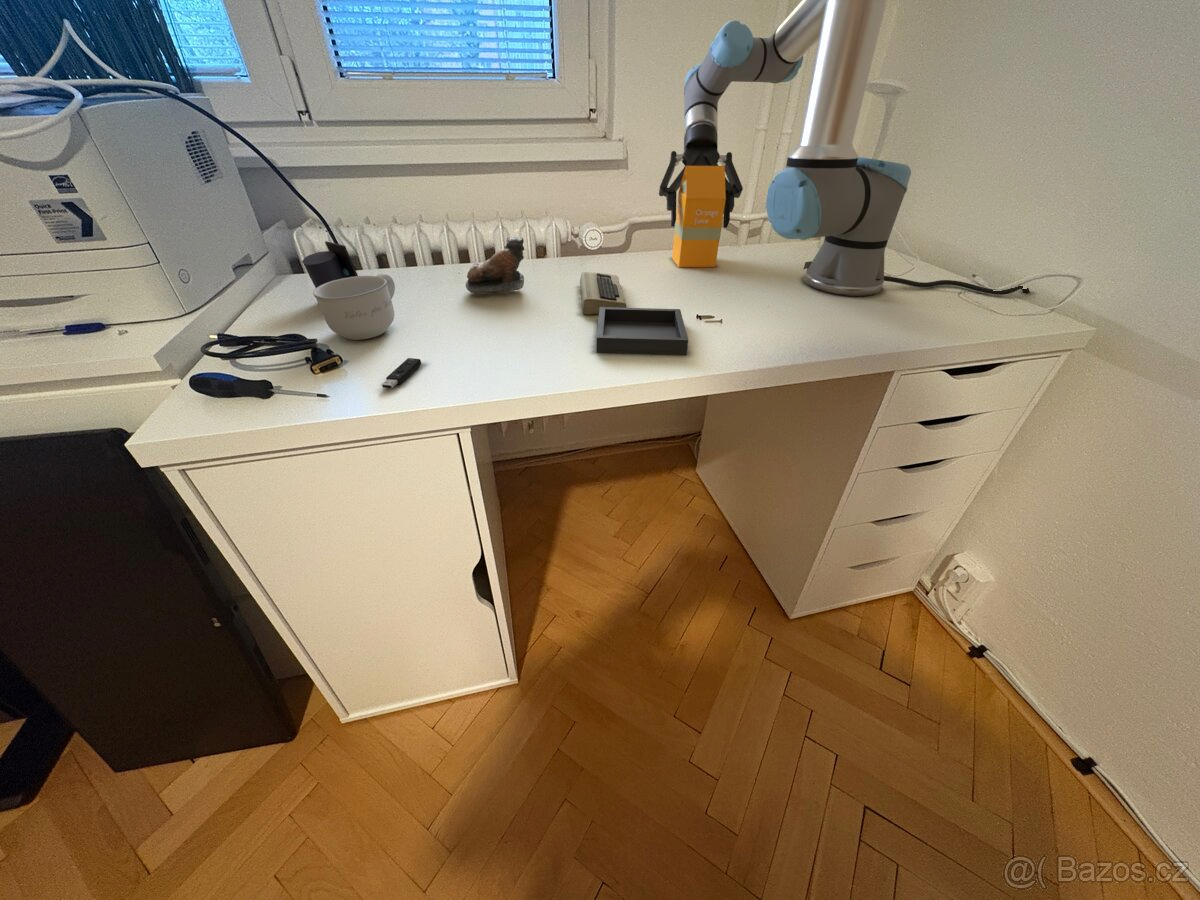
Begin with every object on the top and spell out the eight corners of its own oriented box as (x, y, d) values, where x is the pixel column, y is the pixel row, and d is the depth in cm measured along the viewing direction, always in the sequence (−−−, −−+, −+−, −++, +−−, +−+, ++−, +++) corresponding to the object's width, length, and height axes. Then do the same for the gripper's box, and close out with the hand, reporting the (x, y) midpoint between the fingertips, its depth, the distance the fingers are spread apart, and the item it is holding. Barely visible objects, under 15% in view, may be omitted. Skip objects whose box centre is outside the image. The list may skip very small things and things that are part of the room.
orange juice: (671, 258, 117) (680, 163, 105) (706, 257, 118) (720, 163, 106) (678, 267, 111) (689, 168, 99) (715, 267, 112) (731, 168, 100)
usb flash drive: (394, 390, 64) (392, 383, 64) (381, 388, 65) (379, 382, 64) (421, 364, 71) (420, 358, 70) (409, 363, 71) (407, 356, 70)
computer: (626, 314, 87) (627, 296, 85) (582, 315, 87) (582, 297, 85) (618, 286, 100) (619, 270, 98) (579, 286, 100) (579, 270, 98)
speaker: (359, 291, 95) (338, 236, 88) (369, 300, 92) (347, 245, 84) (319, 302, 92) (294, 247, 85) (327, 313, 88) (302, 256, 81)
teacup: (356, 352, 74) (340, 301, 69) (314, 336, 78) (296, 286, 73) (427, 323, 83) (417, 276, 78) (385, 310, 88) (374, 265, 83)
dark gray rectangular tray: (678, 322, 85) (680, 308, 83) (686, 355, 74) (688, 340, 73) (599, 320, 85) (599, 306, 84) (596, 352, 75) (596, 337, 73)
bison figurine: (467, 300, 93) (458, 244, 86) (466, 288, 98) (458, 235, 92) (529, 295, 95) (525, 241, 89) (525, 284, 100) (521, 232, 94)
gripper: (747, 148, 113) (748, 234, 110) (648, 146, 114) (645, 232, 111) (757, 122, 106) (758, 213, 103) (650, 120, 106) (648, 211, 103)
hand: (700, 223), depth 107 cm, fingers open, 11 cm apart
